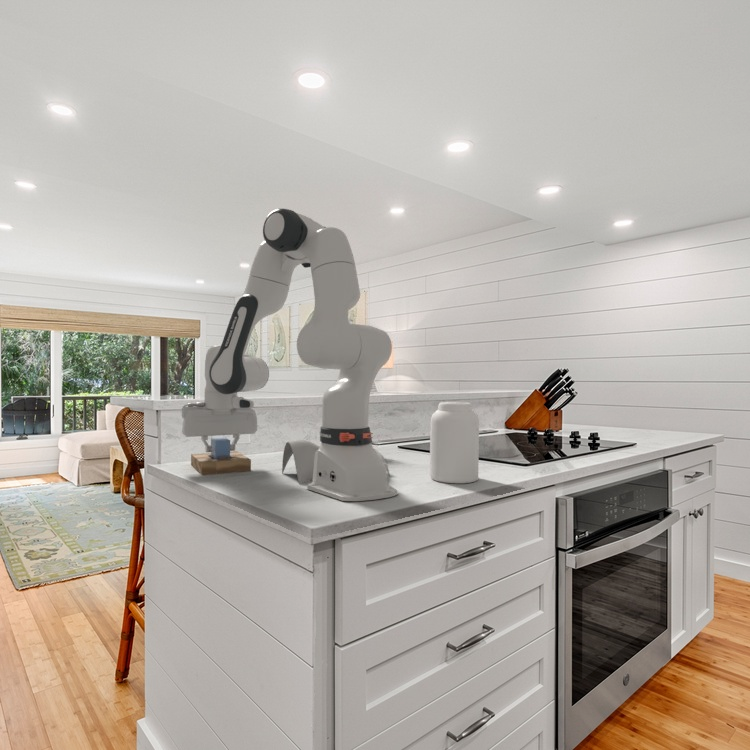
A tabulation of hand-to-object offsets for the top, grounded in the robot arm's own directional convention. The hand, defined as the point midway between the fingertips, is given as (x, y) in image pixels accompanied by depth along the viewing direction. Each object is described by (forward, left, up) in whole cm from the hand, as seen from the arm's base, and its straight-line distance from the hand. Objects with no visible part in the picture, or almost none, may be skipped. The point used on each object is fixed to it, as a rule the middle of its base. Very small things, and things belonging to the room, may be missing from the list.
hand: (220, 451), depth 145 cm
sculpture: (-22, -25, -5) cm, 34 cm away
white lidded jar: (-41, -50, -5) cm, 65 cm away
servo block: (0, 0, -5) cm, 5 cm away
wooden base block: (0, 0, -5) cm, 5 cm away
